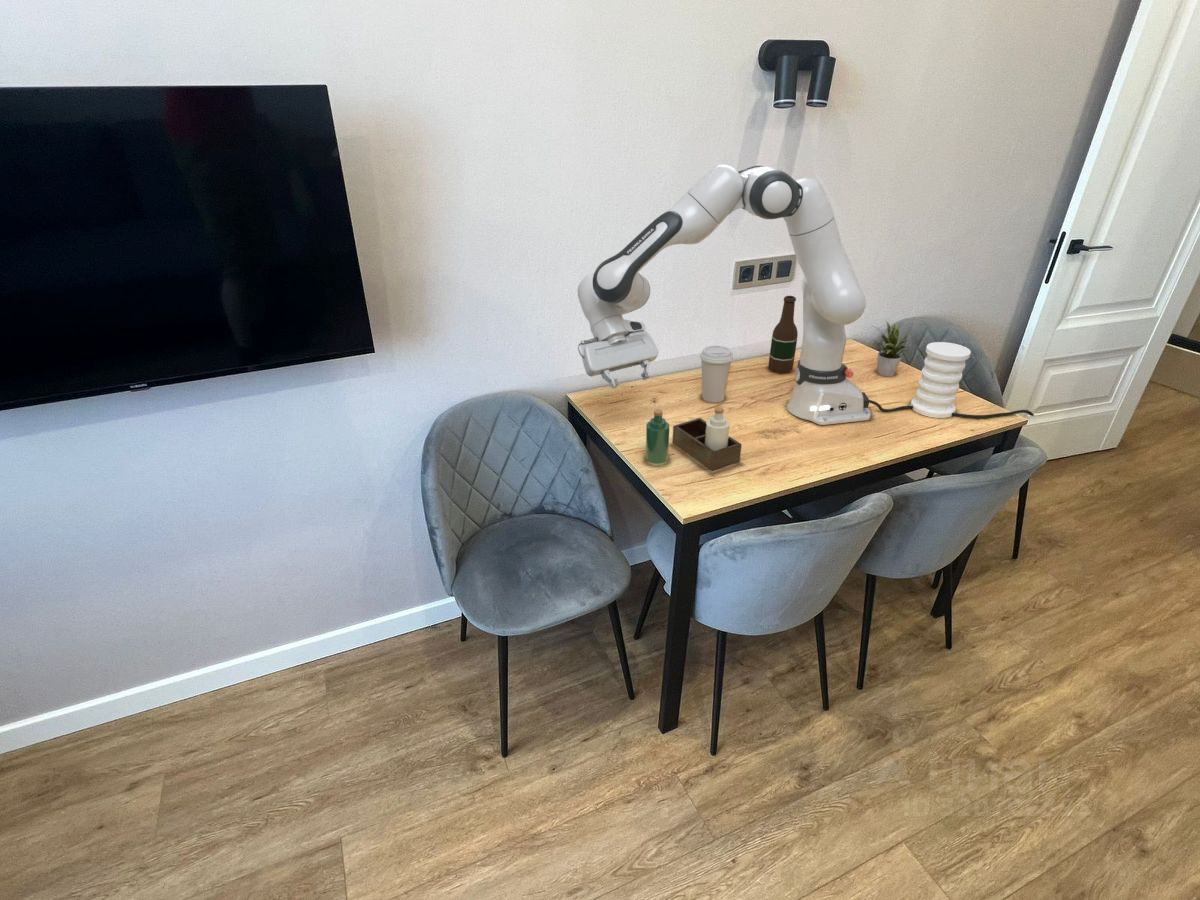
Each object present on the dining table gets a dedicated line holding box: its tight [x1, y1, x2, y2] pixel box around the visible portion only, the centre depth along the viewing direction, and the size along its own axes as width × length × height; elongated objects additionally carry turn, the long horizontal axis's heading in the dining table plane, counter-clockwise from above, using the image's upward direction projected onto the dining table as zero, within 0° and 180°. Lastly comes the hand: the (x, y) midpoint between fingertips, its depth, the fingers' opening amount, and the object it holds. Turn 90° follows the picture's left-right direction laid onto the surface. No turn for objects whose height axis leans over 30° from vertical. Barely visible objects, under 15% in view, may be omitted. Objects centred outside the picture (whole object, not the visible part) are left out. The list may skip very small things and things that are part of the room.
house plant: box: [870, 320, 918, 377], centre depth 202 cm, size 14×14×16 cm
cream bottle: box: [705, 406, 731, 451], centre depth 155 cm, size 6×6×14 cm
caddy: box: [672, 417, 743, 472], centre depth 161 cm, size 16×9×6 cm, turn 30°
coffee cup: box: [699, 345, 734, 404], centre depth 187 cm, size 10×10×15 cm
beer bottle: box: [768, 295, 799, 375], centre depth 203 cm, size 8×8×24 cm
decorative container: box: [909, 341, 972, 419], centre depth 178 cm, size 12×12×18 cm
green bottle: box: [645, 408, 670, 465], centre depth 157 cm, size 6×6×14 cm
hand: (631, 382), depth 161 cm, fingers open, 8 cm apart
